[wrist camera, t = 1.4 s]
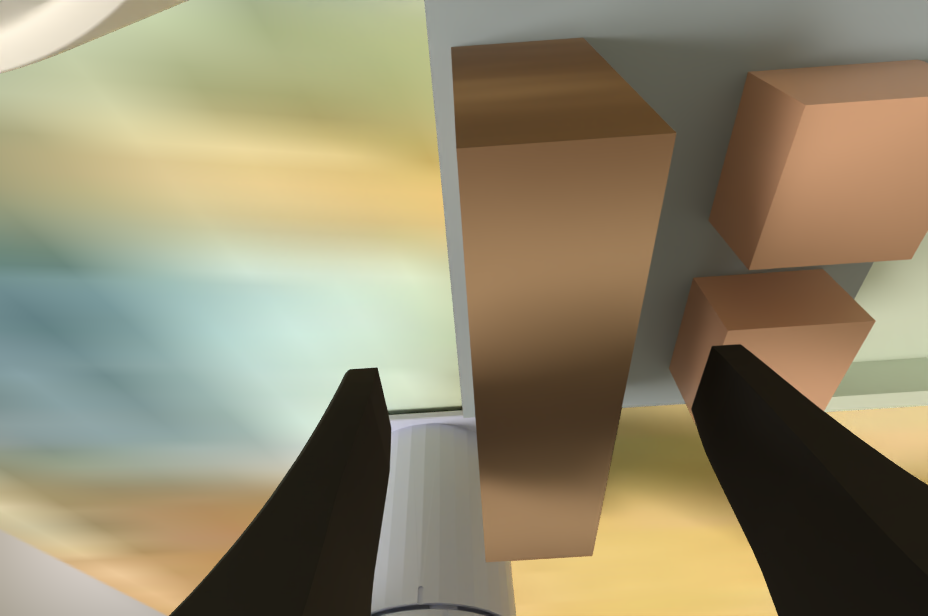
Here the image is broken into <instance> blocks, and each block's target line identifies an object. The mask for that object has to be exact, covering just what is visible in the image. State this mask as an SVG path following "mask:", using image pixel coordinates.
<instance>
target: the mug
mask: <svg viewBox="0 0 928 616" xmlns="http://www.w3.org/2000/svg"><path fill="white" fill-rule="evenodd" d="M186 1H188V0H0V73H4V72H7V71H11V70H14V69H18V68H21V67H24V66H27V65H30V64H33V63H36V62H39V61H42V60H44V59H47V58H50V57H52V56H55V55H58V54H60V53H63V52H65V51H68V50H70V49H73V48H75V47H77V46H80V45H82V44H85V43H87V42H90V41H92V40H94V39H97V38H99V37H102V36H104V35H106V34H109V33H111V32H114V31H116V30H118V29H121V28H123V27H126V26H128V25H130V24H133V23H135V22H138V21H140V20H142V19H145V18H147V17H150V16H152V15H154V14H157V13H159V12H162V11H164V10H166V9H169V8H171V7H174V6H176V5H178V4H181V3H183V2H186Z"/></svg>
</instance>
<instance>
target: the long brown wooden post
mask: <svg viewBox="0 0 928 616" xmlns="http://www.w3.org/2000/svg"><path fill="white" fill-rule="evenodd" d="M451 59H452V78H453V97H454V115H455V134H456V152H457V166H458V180H459V194H460V208H461V222H462V236H463V250H464V264H465V278H466V292H467V307H468V321H469V335H470V349H471V363H472V377H473V391H474V405H475V419H476V433H477V447H478V461H479V475H480V489H481V503H482V518H483V532H484V546H485V560H486V562H500V561H517V560H533V559H549V558H566V557H582V556H592V555H593V550H594V545H595V540H596V535H597V530H598V525H599V520H600V515H601V510H602V505H603V500H604V495H605V490H606V485H607V480H608V475H609V470H610V465H611V460H612V455H613V450H614V445H615V440H616V435H617V430H618V425H619V420H620V414H621V409H622V404H623V399H624V394H625V389H626V384H627V379H628V374H629V369H630V364H631V359H632V354H633V349H634V344H635V339H636V334H637V329H638V324H639V319H640V314H641V309H642V304H643V299H644V294H645V289H646V284H647V279H648V274H649V269H650V264H651V259H652V254H653V249H654V244H655V239H656V234H657V229H658V224H659V219H660V214H661V209H662V204H663V199H664V194H665V189H666V184H667V179H668V174H669V169H670V164H671V159H672V154H673V149H674V144H675V139H676V134H677V133H676V132H675V131H674V130H673V129H672V128H671V127H670V126H669V125H668V124H667V123H666V122H665V121H664V120H663V119H662V118H661V117H660V116H659V115H658V114H657V113H656V111H655V110H654V109H653V108H652V107H651V106H650V105H649V104H648V103H647V102H646V101H645V100H644V99H643V98H642V97H641V96H640V95H639V94H638V93H637V92H636V91H635V90H634V89H633V88H632V87H631V86H630V85H629V84H628V83H627V82H626V81H625V80H624V79H623V78H622V77H621V76H620V75H619V74H618V73H617V72H616V71H615V70H614V69H613V68H612V67H611V66H610V64H609V63H608V62H607V61H606V60H605V59H604V58H603V57H602V56H601V55H600V54H599V53H598V52H597V51H596V50H595V49H594V48H593V47H592V46H591V45H590V44H589V43H588V42H587V41H586V40H585V39H584V38H569V39H555V40H542V41H528V42H514V43H501V44H487V45H473V46H460V47H451Z"/></svg>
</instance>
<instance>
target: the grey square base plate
mask: <svg viewBox="0 0 928 616" xmlns="http://www.w3.org/2000/svg"><path fill="white" fill-rule="evenodd" d="M424 2H425V12H426V23H427V34H428V44H429V55H430V66H431V76H432V87H433V98H434V108H435V119H436V130H437V141H438V151H439V162H440V173H441V183H442V194H443V205H444V215H445V226H446V237H447V247H448V258H449V269H450V280H451V290H452V301H453V312H454V322H455V333H456V344H457V354H458V365H459V376H460V386H461V397H462V408H463V418H471V417H475V405H474V391H473V377H472V363H471V349H470V335H469V321H468V307H467V292H466V278H465V264H464V250H463V236H462V222H461V208H460V194H459V180H458V166H457V152H456V134H455V115H454V97H453V78H452V59H451V47H460V46H473V45H487V44H501V43H514V42H528V41H542V40H555V39H569V38H584V39H585V40H586V41H587V42H588V43H589V44H590V45H591V46H592V47H593V48H594V49H595V50H596V51H597V52H598V53H599V54H600V55H601V56H602V57H603V58H604V59H605V60H606V61H607V62H608V63H609V64H610V66H611V67H612V68H613V69H614V70H615V71H616V72H617V73H618V74H619V75H620V76H621V77H622V78H623V79H624V80H625V81H626V82H627V83H628V84H629V85H630V86H631V87H632V88H633V89H634V90H635V91H636V92H637V93H638V94H639V95H640V96H641V97H642V98H643V99H644V100H645V101H646V102H647V103H648V104H649V105H650V106H651V107H652V108H653V109H654V110H655V111H656V113H657V114H658V115H659V116H660V117H661V118H662V119H663V120H664V121H665V122H666V123H667V124H668V125H669V126H670V127H671V128H672V129H673V130H674V131H675V132H676V133H677V134H676V139H675V144H674V149H673V154H672V159H671V164H670V169H669V174H668V179H667V184H666V189H665V194H664V199H663V204H662V209H661V214H660V219H659V224H658V229H657V234H656V239H655V244H654V249H653V254H652V259H651V264H650V269H649V274H648V279H647V284H646V289H645V294H644V299H643V304H642V309H641V314H640V319H639V324H638V329H637V334H636V339H635V344H634V349H633V354H632V359H631V364H630V369H629V374H628V379H627V384H626V389H625V394H624V399H623V404H622V408H627V407H643V406H658V405H674V404H686V403H685V401H684V399H683V397H682V395H681V393H680V391H679V389H678V387H677V385H676V382H675V380H674V378H673V376H672V374H671V372H670V370H669V366H670V363H671V359H672V355H673V351H674V348H675V344H676V340H677V336H678V333H679V329H680V325H681V321H682V318H683V314H684V310H685V306H686V303H687V299H688V295H689V291H690V288H691V284H692V280H693V278H695V277H710V276H725V275H739V274H754V273H769V272H784V271H799V270H814V269H824V270H825V271H826V272H827V273H828V274H829V275H830V276H831V277H832V278H833V279H834V280H835V281H836V282H837V283H838V284H839V285H840V286H841V287H842V288H843V289H844V290H845V291H846V292H847V293H848V294H849V295H850V296H851V297H852V298H853V299H855V297H856V295H857V293H858V291H859V289H860V287H861V286H862V284H863V282H864V280H865V278H866V276H867V274H868V272H869V270H870V268H871V266H872V264H873V263H874V262H863V263H849V264H834V265H819V266H804V267H789V268H774V269H759V270H748V269H747V267H746V266H745V265H744V264H743V263H742V261H741V260H740V259H739V258H738V256H737V255H736V254H735V253H734V251H733V250H732V249H731V248H730V247H729V245H728V244H727V243H726V242H725V240H724V239H723V238H722V237H721V236H720V234H719V233H718V232H717V231H716V229H715V228H714V227H713V226H712V224H711V223H710V222H709V221H708V220H709V216H710V213H711V209H712V205H713V201H714V198H715V194H716V190H717V186H718V183H719V179H720V175H721V171H722V168H723V164H724V160H725V156H726V153H727V149H728V145H729V141H730V138H731V134H732V130H733V126H734V123H735V119H736V115H737V111H738V108H739V104H740V100H741V96H742V93H743V89H744V85H745V81H746V78H747V74H748V72H751V71H765V70H779V69H793V68H806V67H820V66H834V65H848V64H862V63H876V62H890V61H904V60H921V61H924V62H927V63H928V0H424Z"/></svg>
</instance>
